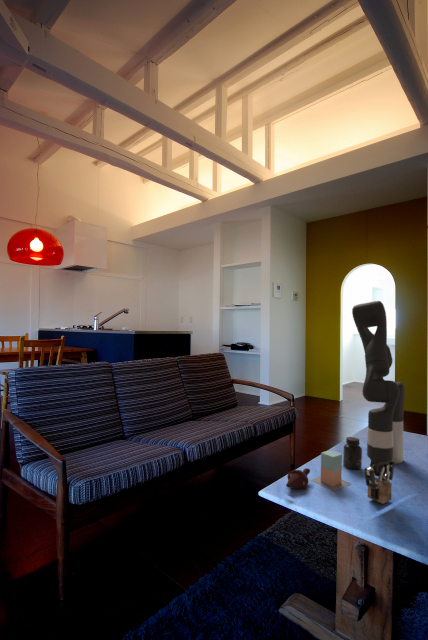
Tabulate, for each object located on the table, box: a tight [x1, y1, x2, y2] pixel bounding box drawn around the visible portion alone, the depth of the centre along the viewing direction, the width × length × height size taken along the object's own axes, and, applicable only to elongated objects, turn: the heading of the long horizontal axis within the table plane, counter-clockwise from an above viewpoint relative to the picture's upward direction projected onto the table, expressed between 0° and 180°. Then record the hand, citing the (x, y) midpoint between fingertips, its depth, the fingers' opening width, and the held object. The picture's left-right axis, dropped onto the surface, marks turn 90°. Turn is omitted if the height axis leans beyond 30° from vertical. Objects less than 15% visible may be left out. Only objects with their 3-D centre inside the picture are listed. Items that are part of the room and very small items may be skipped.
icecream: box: [285, 467, 311, 491], centre depth 121 cm, size 7×7×15 cm
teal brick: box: [320, 449, 343, 472], centre depth 125 cm, size 5×5×5 cm
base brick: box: [320, 466, 343, 486], centre depth 125 cm, size 5×5×5 cm
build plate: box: [310, 475, 352, 492], centre depth 125 cm, size 10×10×1 cm
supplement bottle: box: [342, 436, 363, 471], centre depth 139 cm, size 7×7×12 cm
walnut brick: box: [367, 480, 393, 505], centre depth 112 cm, size 5×5×5 cm
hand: (379, 496), depth 112 cm, fingers closed on walnut brick, 5 cm apart
